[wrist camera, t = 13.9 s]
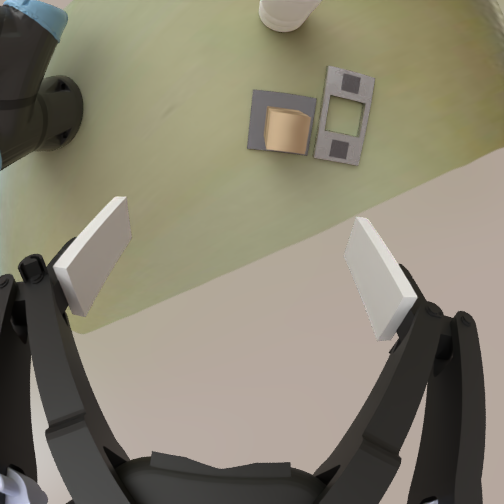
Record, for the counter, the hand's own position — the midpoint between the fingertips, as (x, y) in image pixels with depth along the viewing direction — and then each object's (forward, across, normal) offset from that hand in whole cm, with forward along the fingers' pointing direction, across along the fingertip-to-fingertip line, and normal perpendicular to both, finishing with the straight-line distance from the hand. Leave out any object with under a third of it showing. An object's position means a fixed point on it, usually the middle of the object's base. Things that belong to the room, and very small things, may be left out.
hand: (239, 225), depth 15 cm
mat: (+32, +5, +2) cm, 32 cm away
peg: (+31, +5, +2) cm, 32 cm away
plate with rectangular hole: (+32, +15, +5) cm, 35 cm away
